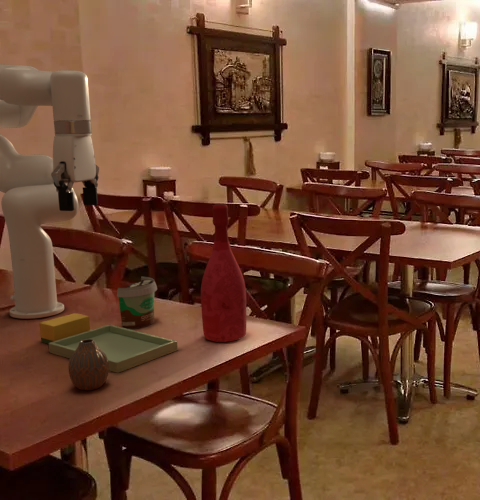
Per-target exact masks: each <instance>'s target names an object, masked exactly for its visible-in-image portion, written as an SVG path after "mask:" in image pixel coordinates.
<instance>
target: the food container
mask: <svg viewBox="0 0 480 500" xmlns="http://www.w3.org/2000/svg"><path fill="white" fill-rule="evenodd" d="M140 277H141V278H140V280H139V281H137V282H134V283H130V284H129V285H128V286H126V287H117V291H116V297H117V298H118V304H119V313H120V321H121V327H122V328H126V329H130V330H134V329H140V328H145V327H148V326H151V325H153V323H154V322H155V292H157V290H158V286H157V283H156V281H155V279H153V278H152V277H149V276H140Z"/></svg>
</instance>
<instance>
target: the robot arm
mask: <svg viewBox="0 0 480 500" xmlns="http://www.w3.org/2000/svg"><path fill="white" fill-rule="evenodd" d="M89 91H90V90H89V78H88V75H87V74H86V73H85V72H84V71H82V70H74V69H73V70H72V69H68V70H67V69H63V70H61V69H60V70H40V69H38V68H36V67H35V66H32V65H21V64H5V63H4V64H2V63H0V129H20V128H23V127H26V126H27V125H28V124H29V123H30V122H31V120H32V119H33V116H34V115H35V112H36V111H37V108H38V107H41V106H42V107H52V118H53V129H54V136H53V143H52V157H51V156H49V155H47V154H40V153H39V154H38V153H37V154H22V153H19V152H18V151H17V150H16V148H15V146H14V144H13V143H12V142H11V141H10V140H9V139H8V138H7V137H6V136H4V135H3V134H1V133H0V192H2V193H3V195H2V197H1V203H0V205H1V211H2V215H3V217H4V222H5V225H6V229H7V233H8V234H7V235H8V241H9V249H10V259H11V267H12V268H11V269H12V280H13V289H14V291H13V292H14V293H13V294H12V295H10V301H13V302H14V306H12V307H11V308H10V309H9V311H8V312H9V316H10V317H11V318H15V319H21V320H29V319H30V320H31V319H41V318H48V317H51V316H55V315H58V314H60V313H62V312H64V310H65V304H64V303H62V302H60V301H58V295H57V284H56V283H57V281H56V271H55V259H54V258H55V257H54V249H53V248H54V247H53V242H52V239H51V237H50V236H49V234H48V233H47V232H46V231H45V230H44V229H43V228H42V225H45V224H51V223H61V222H67V221H70V220H72V219H74V218H75V217H77V215H78V212H79V205H80V204H79V200H78V199H79V198H78V196H77V194H76V192H75V190H74V188H73V187H74V183H82V185H83V187H82V197H83V205H84V206H97V205H98V204H99V200H98V199H99V198H98V185H99V183H98V181H99V172H100V167H99V166H98V165H97V164H96V157H95V149H94V143H93V139H92V136H93V131H92V117H91V103H90V92H89Z"/></svg>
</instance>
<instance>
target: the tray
mask: <svg viewBox="0 0 480 500" xmlns="http://www.w3.org/2000/svg"><path fill="white" fill-rule="evenodd" d="M84 339H93V340H94V342H95V343H96V345H97V346H98V347H99V348H100V349H101V350H102V351H103V352H104V353H105V355H106V357H107V359H108V363H109V372H113V373H116V374H119V373H122V372H124V371H127V370H129V369H133V368H134V367H135V368H136V367H137V366H140V365H142V364H145V363H148V362H151V361H153V360H156V359H159V358H161V357H165V356H166V355H170V354H171V353H174V352H177V351H178V350H179V349H178V340H175V339H170V338H166V337H162V336H158V335H154V334H150V333H148V332H147V333H146V332H143V331H138V330H134V329H126V328H122V326H118V325H114V324H107V325H102V326H100V327H96V328H94V329H90V331H87V332H83V333H80V334H77V335H73V336H70V337H67V338H64V339H60V340H57V341H54V342H51V343H49V344H48V353H50V354H52V355H57V356H59V357H63V358H66V359H69V360H70V358H71V356H72V354H73V353H74V351H75V350H76V349H77V347H78V345H79V343H80V341H81V340H84Z"/></svg>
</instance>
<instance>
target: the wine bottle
mask: <svg viewBox="0 0 480 500" xmlns="http://www.w3.org/2000/svg"><path fill="white" fill-rule="evenodd" d="M228 212H229V207H228V205H227V204H226V203H215V204H214V205H212V225H213V226H214V240H213V246H212V250H211V253H210V257H209V259H208V261H207V264H206V267H205V269H204V273H203V275H202V280H201V283H200V284H201V285H200V286H201V287H200V307H201V322H202V333H203V336H204V338H205V339H207V340H209V341H211V342H215V343H229V342H234V341H237V340H241V339H242V338H243V337H245V335H246V333H247V290H246V289H247V288H246V282H245V278H244V276H243V273H242V270H241V268H240V266H239V263H238V262H237V260H236V258H235V255H234V254H233V251H232V248H231V242H230V241H229V231H228V225H229V223H230V219H229V214H228Z"/></svg>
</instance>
